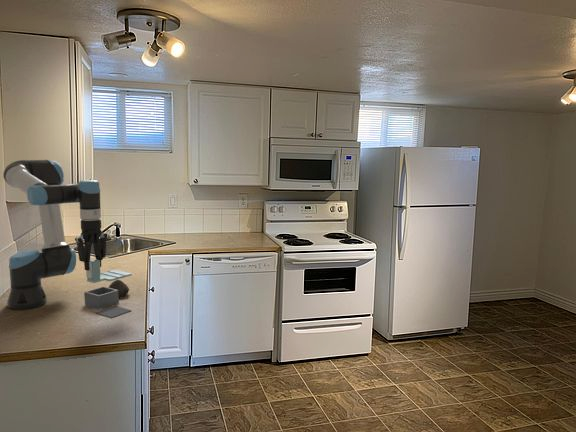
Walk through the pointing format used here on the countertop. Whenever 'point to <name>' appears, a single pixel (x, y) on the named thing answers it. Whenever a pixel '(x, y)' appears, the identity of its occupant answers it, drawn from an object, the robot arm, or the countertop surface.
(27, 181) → the robot arm
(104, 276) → the pale blue ridged block
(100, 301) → the tub
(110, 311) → the mat
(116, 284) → the stone
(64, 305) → the countertop surface
